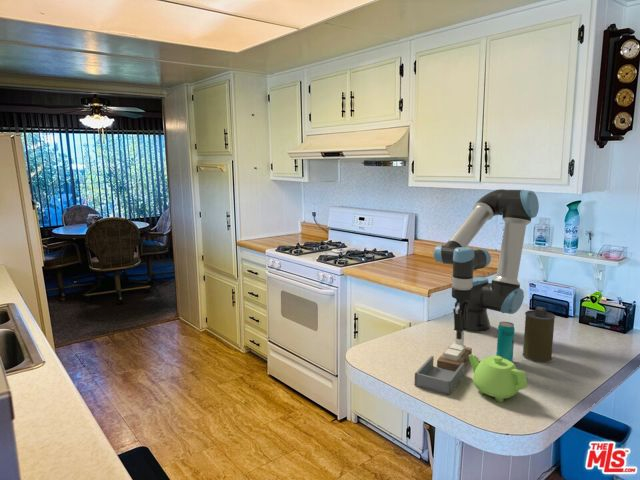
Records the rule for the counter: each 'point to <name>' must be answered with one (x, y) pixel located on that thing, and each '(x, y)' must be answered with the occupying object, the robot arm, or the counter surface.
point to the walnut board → (453, 364)
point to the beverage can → (505, 340)
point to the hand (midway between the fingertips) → (459, 345)
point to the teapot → (497, 377)
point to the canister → (538, 335)
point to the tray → (438, 377)
